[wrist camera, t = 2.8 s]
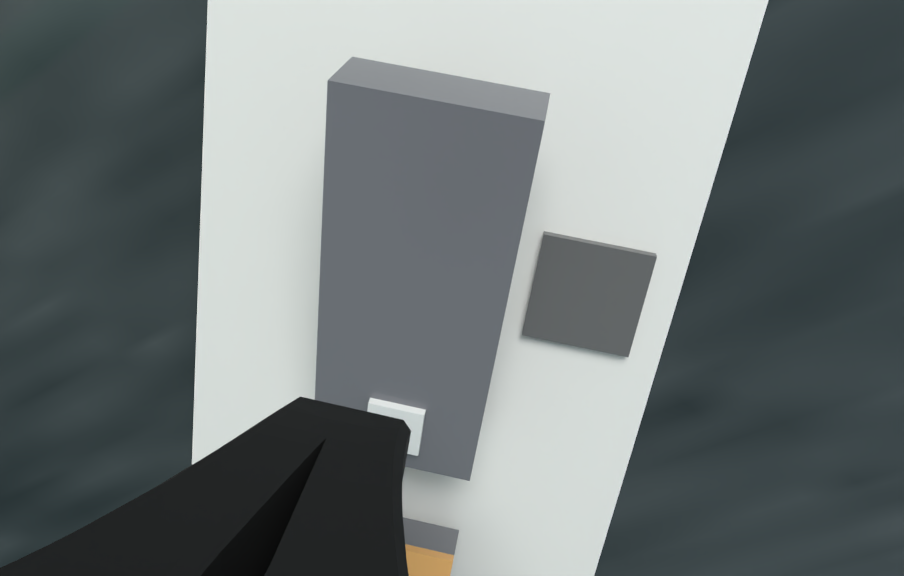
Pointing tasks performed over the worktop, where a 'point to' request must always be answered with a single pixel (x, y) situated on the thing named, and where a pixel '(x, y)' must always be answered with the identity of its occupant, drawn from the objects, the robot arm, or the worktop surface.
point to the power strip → (540, 250)
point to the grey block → (421, 247)
